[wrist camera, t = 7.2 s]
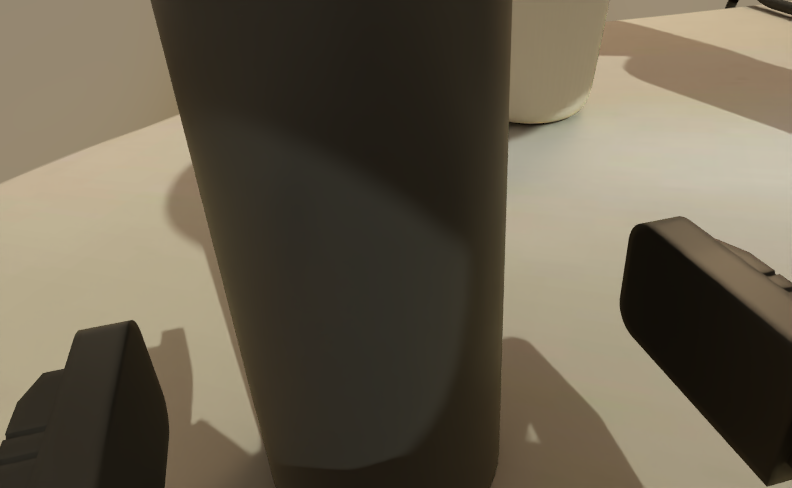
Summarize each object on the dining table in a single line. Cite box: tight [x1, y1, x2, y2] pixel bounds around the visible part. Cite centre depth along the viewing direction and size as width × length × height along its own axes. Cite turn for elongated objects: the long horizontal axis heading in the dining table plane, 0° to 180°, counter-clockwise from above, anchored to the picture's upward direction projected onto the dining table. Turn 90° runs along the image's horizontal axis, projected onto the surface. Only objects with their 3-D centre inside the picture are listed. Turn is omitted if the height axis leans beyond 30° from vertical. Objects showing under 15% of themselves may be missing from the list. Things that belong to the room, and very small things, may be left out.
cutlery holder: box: [151, 0, 512, 488], centre depth 12 cm, size 6×6×17 cm
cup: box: [509, 0, 610, 124], centre depth 36 cm, size 11×8×8 cm
